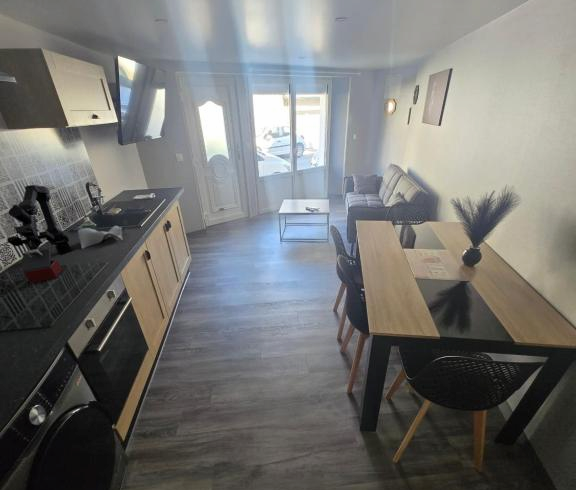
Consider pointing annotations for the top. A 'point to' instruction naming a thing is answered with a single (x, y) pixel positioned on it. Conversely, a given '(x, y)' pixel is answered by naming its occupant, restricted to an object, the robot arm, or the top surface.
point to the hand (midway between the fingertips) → (33, 253)
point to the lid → (36, 259)
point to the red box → (44, 272)
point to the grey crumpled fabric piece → (97, 235)
